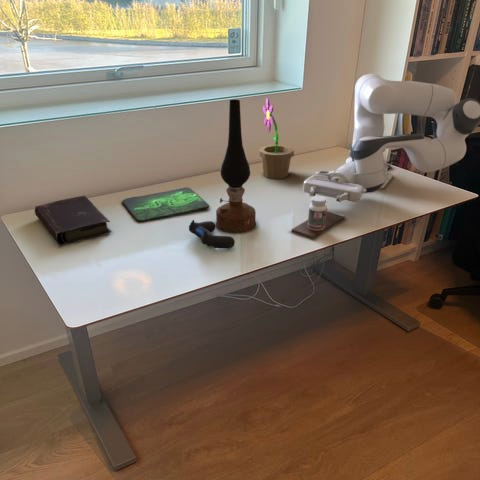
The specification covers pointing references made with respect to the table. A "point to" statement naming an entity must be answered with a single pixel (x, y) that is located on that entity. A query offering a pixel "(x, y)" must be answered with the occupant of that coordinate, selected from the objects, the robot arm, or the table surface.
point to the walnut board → (330, 222)
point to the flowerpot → (274, 151)
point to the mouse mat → (164, 204)
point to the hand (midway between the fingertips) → (324, 196)
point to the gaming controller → (210, 235)
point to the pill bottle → (317, 213)
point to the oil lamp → (235, 180)
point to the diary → (72, 220)
